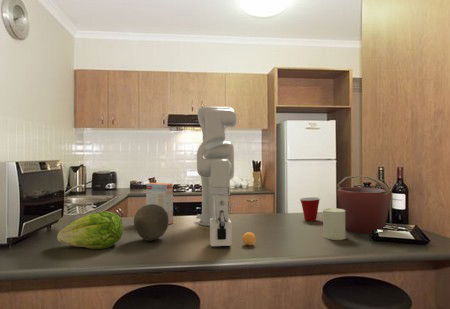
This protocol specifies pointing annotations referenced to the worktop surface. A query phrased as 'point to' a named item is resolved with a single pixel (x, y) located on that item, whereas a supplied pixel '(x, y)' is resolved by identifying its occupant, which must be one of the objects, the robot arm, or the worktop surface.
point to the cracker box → (161, 197)
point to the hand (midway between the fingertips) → (220, 236)
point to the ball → (249, 238)
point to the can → (334, 223)
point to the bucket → (364, 206)
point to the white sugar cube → (213, 233)
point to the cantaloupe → (151, 222)
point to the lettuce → (93, 231)
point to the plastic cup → (310, 208)
